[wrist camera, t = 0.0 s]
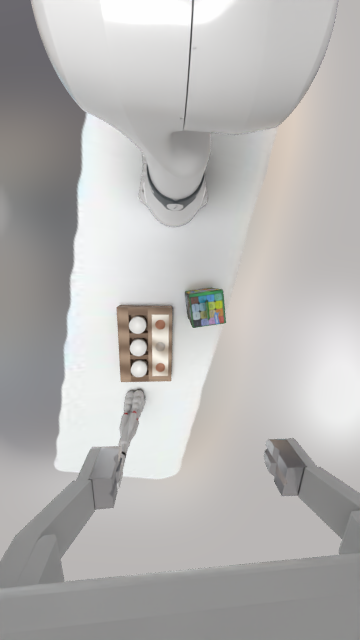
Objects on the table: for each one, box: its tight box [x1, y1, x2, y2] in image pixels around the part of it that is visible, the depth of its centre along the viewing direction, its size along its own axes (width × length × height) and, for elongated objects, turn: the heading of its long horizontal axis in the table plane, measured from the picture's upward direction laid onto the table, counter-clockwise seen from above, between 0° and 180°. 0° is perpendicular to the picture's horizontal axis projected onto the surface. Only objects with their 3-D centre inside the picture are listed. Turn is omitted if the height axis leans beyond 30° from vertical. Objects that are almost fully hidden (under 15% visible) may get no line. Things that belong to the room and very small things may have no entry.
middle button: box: [130, 338, 147, 356], centre depth 54 cm, size 5×5×3 cm
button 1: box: [131, 359, 148, 377], centre depth 56 cm, size 5×5×3 cm
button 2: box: [129, 316, 147, 334], centre depth 53 cm, size 5×5×3 cm
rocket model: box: [117, 390, 145, 490], centre depth 48 cm, size 7×7×30 cm
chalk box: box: [185, 288, 226, 328], centre depth 50 cm, size 9×9×15 cm
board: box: [117, 305, 172, 382], centre depth 56 cm, size 24×16×4 cm, turn 178°
